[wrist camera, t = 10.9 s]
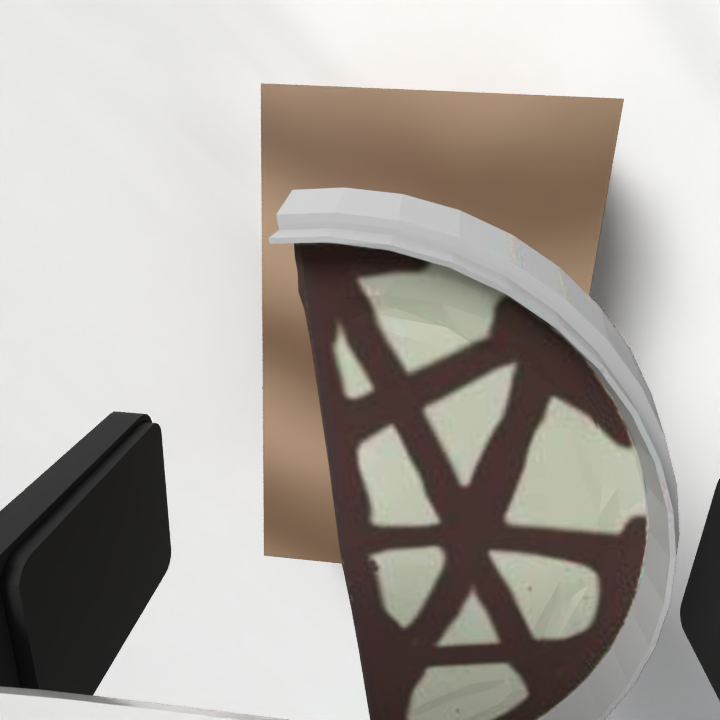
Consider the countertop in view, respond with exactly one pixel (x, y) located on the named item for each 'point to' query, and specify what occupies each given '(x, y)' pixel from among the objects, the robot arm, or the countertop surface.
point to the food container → (481, 464)
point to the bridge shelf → (423, 181)
